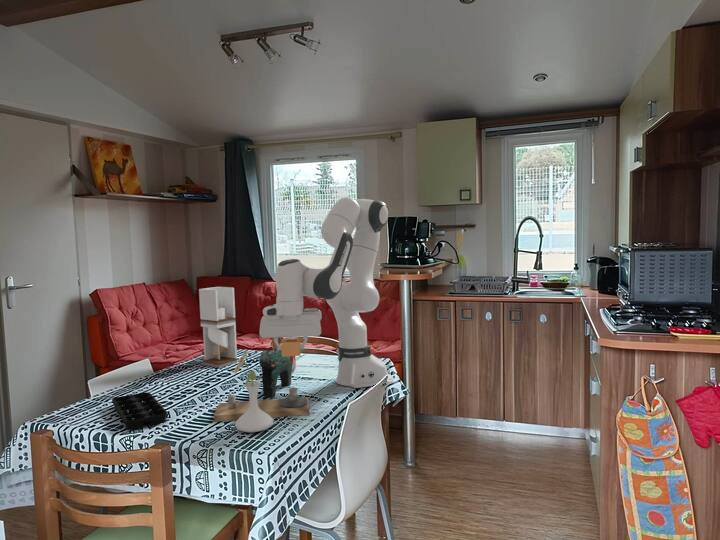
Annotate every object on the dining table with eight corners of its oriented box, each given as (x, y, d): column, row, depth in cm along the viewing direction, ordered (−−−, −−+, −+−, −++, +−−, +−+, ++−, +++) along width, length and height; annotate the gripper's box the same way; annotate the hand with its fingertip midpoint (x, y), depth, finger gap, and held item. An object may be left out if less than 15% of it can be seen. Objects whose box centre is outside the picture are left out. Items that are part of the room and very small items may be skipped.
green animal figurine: (272, 400, 182) (270, 344, 180) (256, 399, 184) (254, 343, 182) (295, 384, 201) (293, 333, 199) (280, 383, 202) (278, 333, 201)
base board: (308, 402, 178) (307, 382, 177) (309, 414, 166) (308, 393, 165) (219, 409, 174) (218, 388, 173) (214, 421, 162) (213, 400, 161)
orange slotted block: (300, 351, 173) (299, 338, 173) (300, 355, 167) (300, 342, 167) (282, 352, 172) (281, 339, 172) (281, 356, 166) (281, 342, 166)
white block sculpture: (202, 364, 236) (198, 289, 233) (220, 359, 244) (217, 286, 242) (219, 367, 229) (215, 290, 227) (237, 362, 238) (233, 287, 235)
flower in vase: (247, 420, 162) (243, 342, 160) (280, 423, 159) (277, 343, 157) (225, 436, 150) (221, 352, 148) (260, 439, 146) (256, 353, 145)
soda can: (298, 371, 219) (297, 343, 219) (283, 374, 215) (282, 346, 215) (291, 368, 225) (290, 341, 224) (276, 370, 221) (275, 343, 220)
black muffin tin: (146, 400, 187) (145, 390, 187) (185, 418, 166) (184, 407, 166) (94, 412, 175) (94, 402, 174) (130, 435, 154) (129, 422, 154)
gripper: (320, 306, 173) (321, 346, 174) (259, 308, 171) (260, 349, 171) (322, 308, 167) (323, 350, 168) (258, 311, 164) (259, 353, 165)
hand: (291, 350), depth 170 cm, fingers closed on orange slotted block, 6 cm apart
